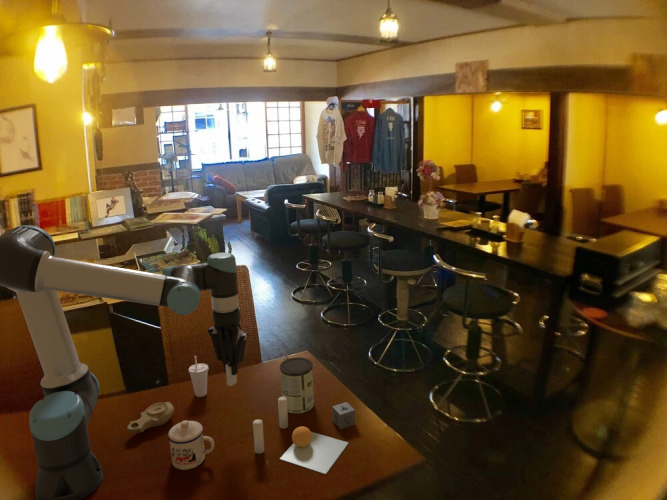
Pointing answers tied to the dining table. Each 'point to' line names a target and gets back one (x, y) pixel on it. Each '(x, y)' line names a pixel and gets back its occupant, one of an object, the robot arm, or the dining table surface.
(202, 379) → the smoothie
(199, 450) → the teacup with lid
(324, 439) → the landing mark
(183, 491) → the dining table surface
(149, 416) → the oil lamp
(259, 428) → the post
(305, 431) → the ball
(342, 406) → the dice cube
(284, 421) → the post
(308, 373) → the coffee can
